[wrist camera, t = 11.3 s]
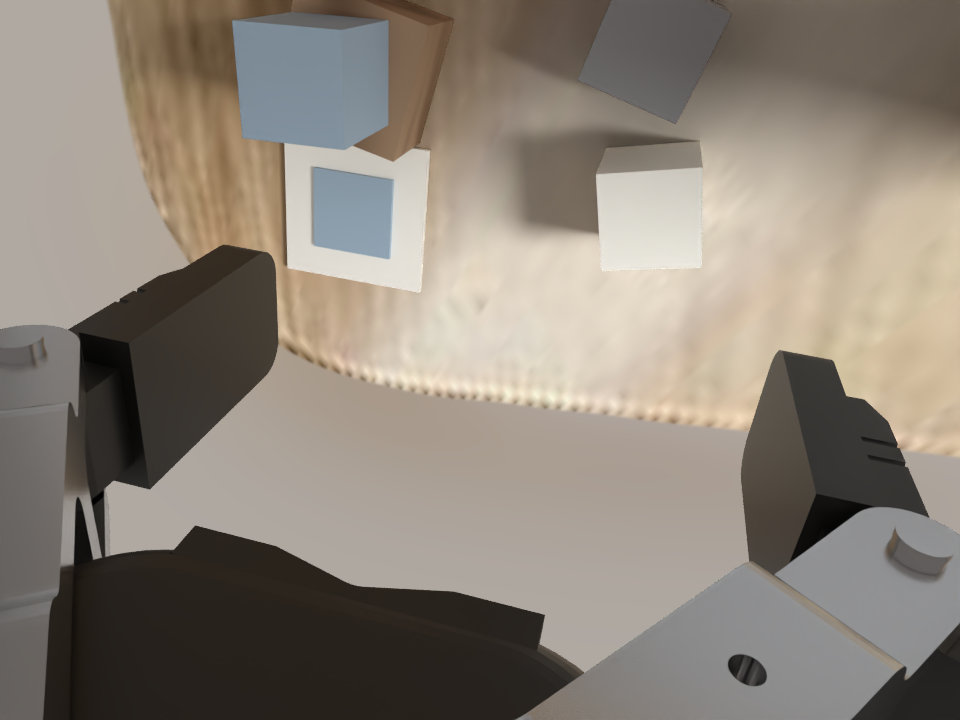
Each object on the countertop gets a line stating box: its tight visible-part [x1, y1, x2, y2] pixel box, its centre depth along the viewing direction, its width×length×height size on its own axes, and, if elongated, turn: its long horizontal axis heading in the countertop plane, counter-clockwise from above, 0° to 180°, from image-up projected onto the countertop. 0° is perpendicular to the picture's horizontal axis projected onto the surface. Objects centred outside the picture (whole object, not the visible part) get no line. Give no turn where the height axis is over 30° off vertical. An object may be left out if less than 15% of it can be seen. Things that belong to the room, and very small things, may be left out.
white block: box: [596, 141, 703, 271], centre depth 40 cm, size 5×5×6 cm
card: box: [284, 143, 430, 293], centre depth 47 cm, size 9×9×1 cm
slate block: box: [232, 12, 389, 150], centre depth 36 cm, size 5×5×6 cm
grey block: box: [578, 0, 731, 124], centre depth 37 cm, size 5×5×6 cm
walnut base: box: [290, 0, 454, 162], centre depth 41 cm, size 7×7×5 cm
